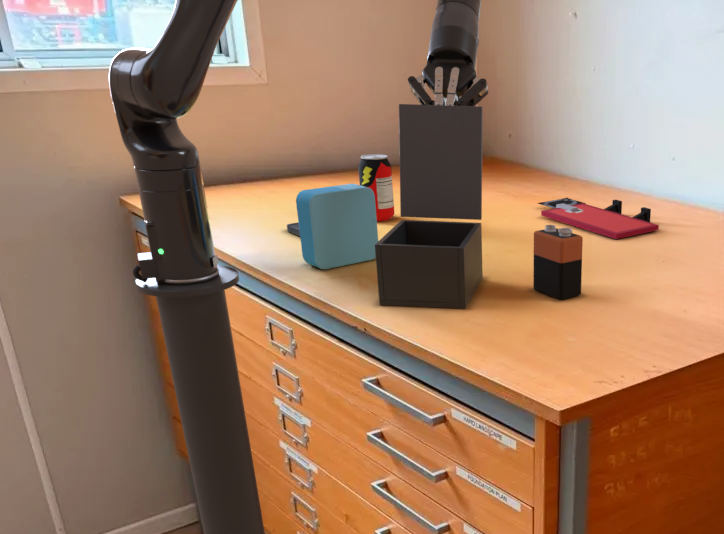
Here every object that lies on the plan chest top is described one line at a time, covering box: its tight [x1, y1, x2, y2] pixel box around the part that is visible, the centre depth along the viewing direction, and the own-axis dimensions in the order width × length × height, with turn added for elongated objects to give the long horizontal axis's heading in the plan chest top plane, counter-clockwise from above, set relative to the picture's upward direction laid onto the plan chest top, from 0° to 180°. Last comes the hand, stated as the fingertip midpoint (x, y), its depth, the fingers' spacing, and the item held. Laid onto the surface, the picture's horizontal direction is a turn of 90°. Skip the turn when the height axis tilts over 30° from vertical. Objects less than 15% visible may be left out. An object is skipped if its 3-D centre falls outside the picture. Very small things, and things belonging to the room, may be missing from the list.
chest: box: [375, 219, 484, 310], centre depth 131 cm, size 16×13×9 cm
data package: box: [295, 183, 379, 270], centre depth 143 cm, size 12×4×12 cm, turn 135°
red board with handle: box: [537, 197, 660, 240], centre depth 177 cm, size 30×3×15 cm
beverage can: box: [357, 153, 395, 222], centre depth 171 cm, size 6×6×12 cm
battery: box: [533, 224, 584, 301], centre depth 131 cm, size 4×7×10 cm, turn 41°
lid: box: [398, 103, 484, 221], centre depth 133 cm, size 16×13×1 cm
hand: (442, 133), depth 133 cm, fingers closed
